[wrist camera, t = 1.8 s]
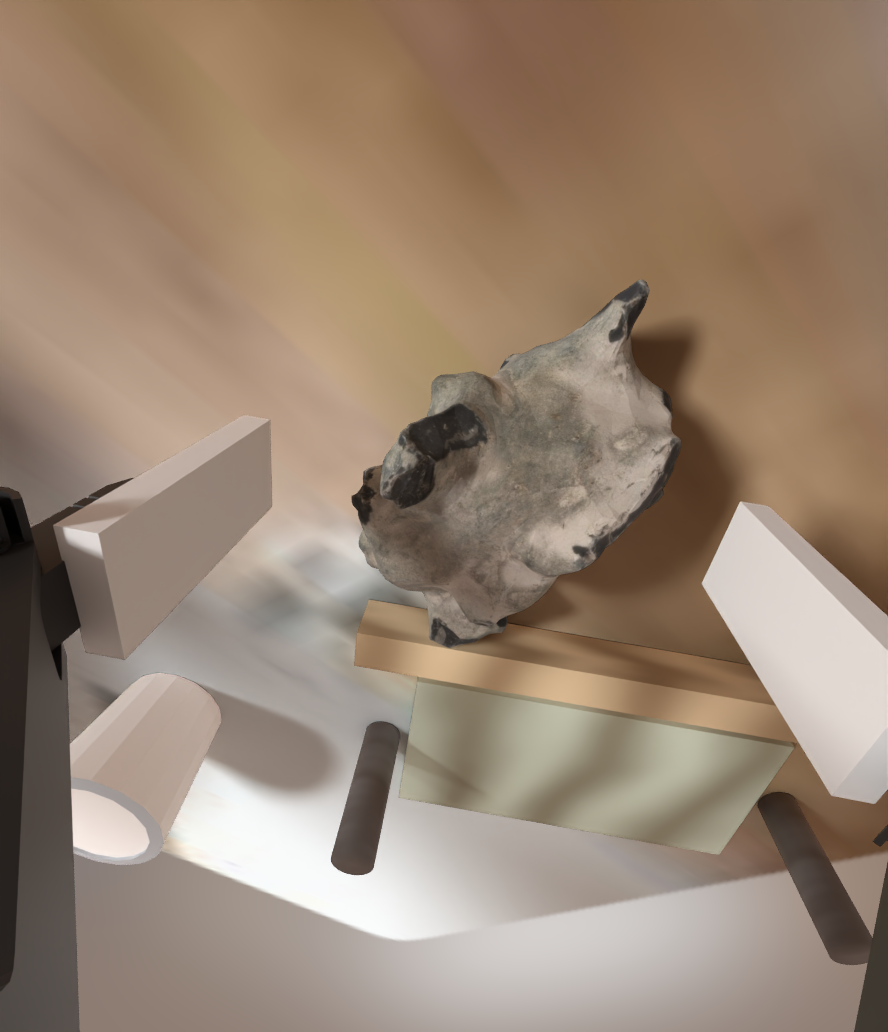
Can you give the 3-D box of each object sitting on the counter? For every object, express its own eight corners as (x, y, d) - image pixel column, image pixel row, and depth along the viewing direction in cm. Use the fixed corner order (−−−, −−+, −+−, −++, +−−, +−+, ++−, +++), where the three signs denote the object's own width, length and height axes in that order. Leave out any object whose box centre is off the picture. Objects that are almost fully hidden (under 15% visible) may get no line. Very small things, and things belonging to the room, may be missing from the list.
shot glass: (212, 664, 28) (130, 780, 22) (245, 748, 31) (182, 871, 25) (100, 664, 29) (-10, 776, 22) (143, 746, 32) (57, 864, 25)
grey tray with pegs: (352, 783, 31) (317, 912, 25) (369, 599, 25) (326, 713, 18) (764, 856, 31) (831, 1006, 25) (895, 690, 24) (1033, 838, 18)
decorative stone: (522, 652, 24) (472, 833, 15) (364, 560, 25) (229, 680, 16) (729, 335, 18) (855, 326, 9) (502, 230, 19) (406, 125, 10)
